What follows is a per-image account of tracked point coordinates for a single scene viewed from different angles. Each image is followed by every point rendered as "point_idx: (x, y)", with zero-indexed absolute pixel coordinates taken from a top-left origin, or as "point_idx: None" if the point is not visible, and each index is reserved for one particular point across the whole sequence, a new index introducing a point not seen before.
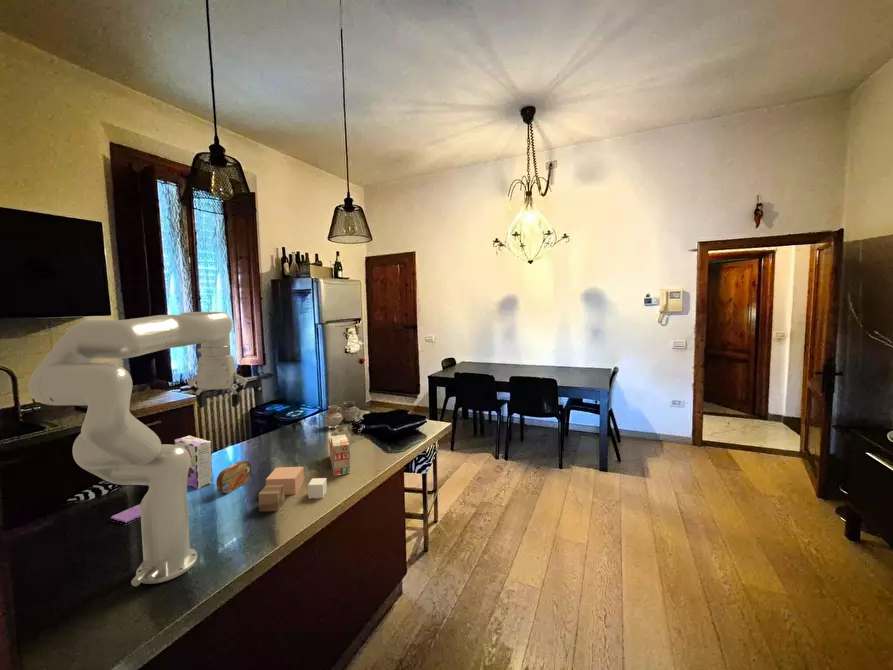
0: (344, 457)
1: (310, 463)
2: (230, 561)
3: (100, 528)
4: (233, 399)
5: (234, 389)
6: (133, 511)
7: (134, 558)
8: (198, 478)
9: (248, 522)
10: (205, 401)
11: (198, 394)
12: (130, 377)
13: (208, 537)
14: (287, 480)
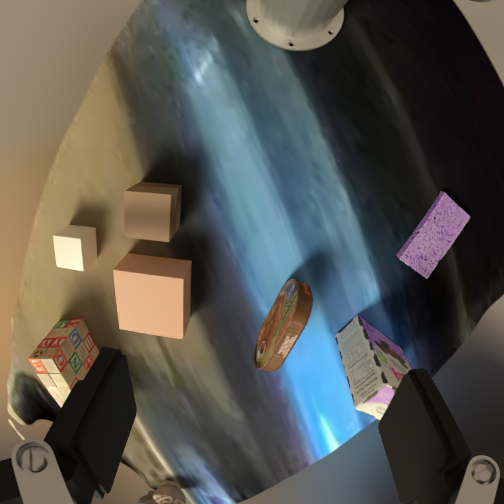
0: (49, 341)
1: (151, 382)
2: (182, 10)
3: (471, 188)
4: (76, 397)
5: (22, 489)
6: (444, 229)
7: (372, 54)
8: (361, 329)
9: (190, 139)
10: (392, 441)
11: (471, 464)
12: None
13: (258, 91)
14: (132, 270)
